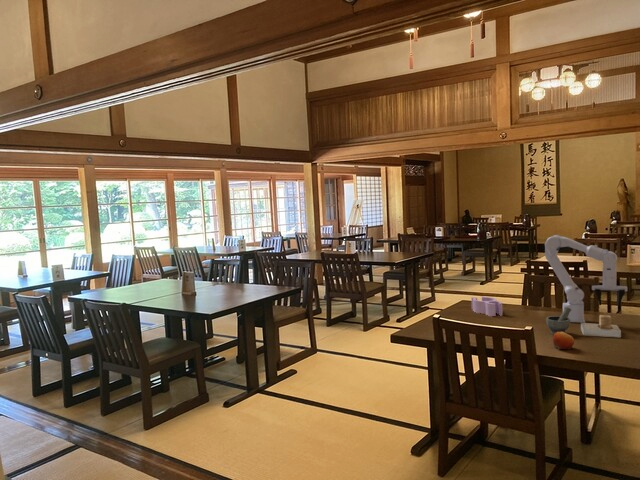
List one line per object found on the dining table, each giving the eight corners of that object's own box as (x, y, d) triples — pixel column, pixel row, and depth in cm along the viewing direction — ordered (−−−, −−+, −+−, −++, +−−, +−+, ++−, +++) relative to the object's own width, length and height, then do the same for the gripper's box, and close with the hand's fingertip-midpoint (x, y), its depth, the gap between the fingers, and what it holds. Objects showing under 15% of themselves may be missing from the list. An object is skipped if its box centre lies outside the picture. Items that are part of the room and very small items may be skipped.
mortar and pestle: (553, 337, 221) (553, 310, 219) (541, 331, 230) (541, 306, 229) (577, 335, 222) (577, 309, 221) (564, 329, 231) (564, 304, 230)
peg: (600, 334, 222) (600, 317, 221) (599, 332, 225) (599, 314, 224) (610, 335, 220) (611, 317, 219) (609, 332, 224) (609, 315, 223)
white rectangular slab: (583, 335, 221) (583, 328, 221) (580, 329, 231) (580, 322, 230) (620, 337, 216) (620, 330, 215) (616, 331, 225) (616, 324, 225)
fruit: (544, 343, 208) (554, 326, 208) (559, 351, 209) (569, 335, 209) (555, 348, 200) (565, 331, 200) (571, 357, 201) (580, 340, 201)
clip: (508, 315, 262) (508, 302, 261) (487, 317, 259) (487, 304, 258) (487, 307, 281) (487, 295, 281) (467, 309, 278) (467, 297, 278)
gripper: (593, 278, 234) (593, 306, 235) (628, 279, 228) (628, 307, 229) (591, 275, 240) (591, 303, 241) (625, 276, 235) (625, 304, 236)
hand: (609, 305), depth 236 cm, fingers open, 7 cm apart
